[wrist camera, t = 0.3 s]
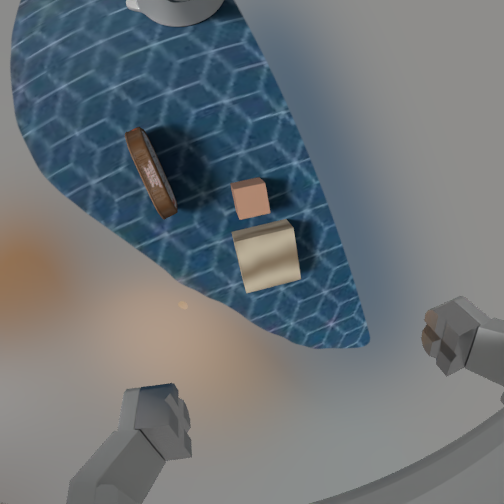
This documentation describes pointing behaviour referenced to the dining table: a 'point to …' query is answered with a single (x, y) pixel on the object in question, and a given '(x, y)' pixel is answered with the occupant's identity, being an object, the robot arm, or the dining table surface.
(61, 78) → the dining table surface
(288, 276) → the base block
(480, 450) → the robot arm
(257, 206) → the cube
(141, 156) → the tin
